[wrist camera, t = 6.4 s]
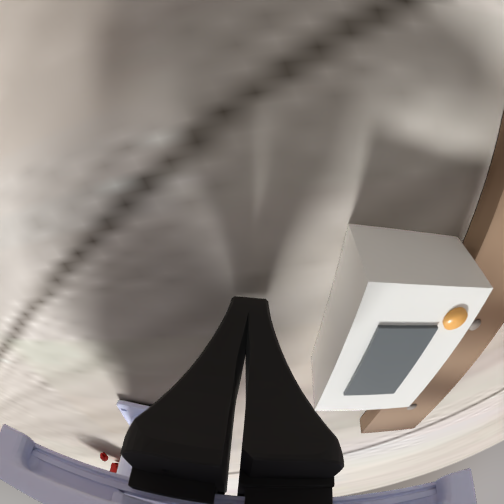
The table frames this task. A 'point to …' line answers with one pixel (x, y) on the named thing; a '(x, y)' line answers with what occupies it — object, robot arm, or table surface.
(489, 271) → the batten
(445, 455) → the table surface
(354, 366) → the box
